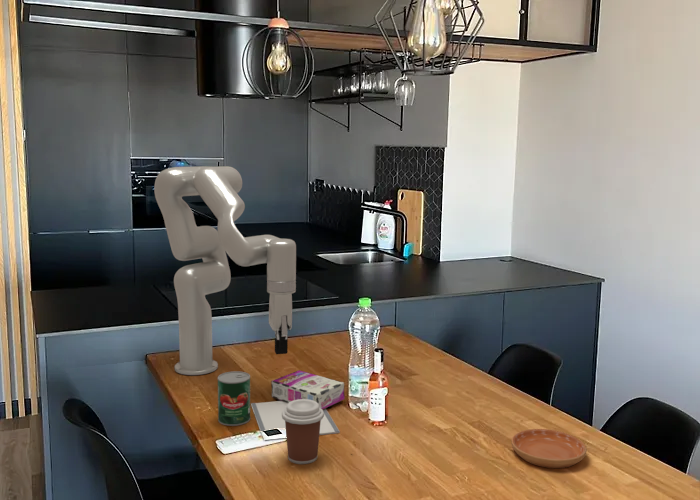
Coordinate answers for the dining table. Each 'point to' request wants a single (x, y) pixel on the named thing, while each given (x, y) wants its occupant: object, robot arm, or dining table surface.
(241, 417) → the canned tomato
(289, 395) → the candy bar box
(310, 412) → the coffee cup
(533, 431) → the saucer
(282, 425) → the mat
